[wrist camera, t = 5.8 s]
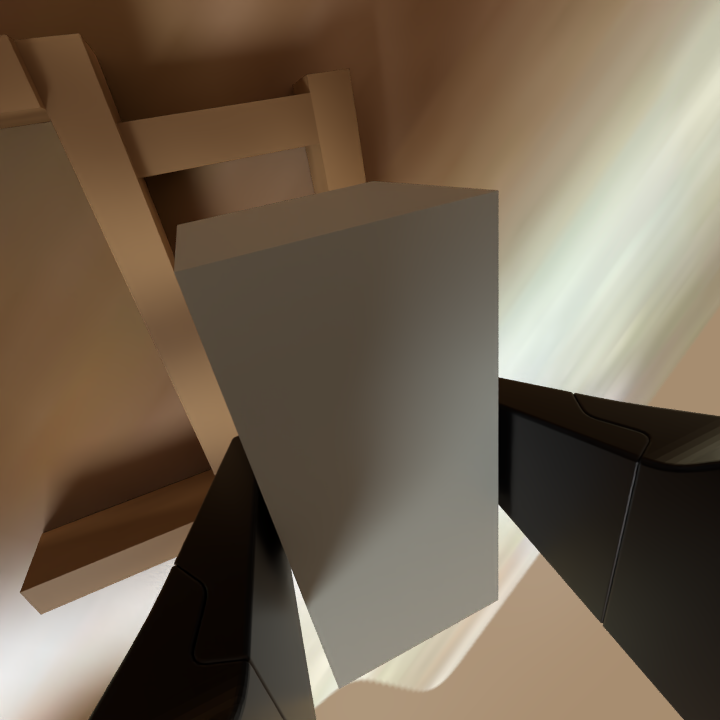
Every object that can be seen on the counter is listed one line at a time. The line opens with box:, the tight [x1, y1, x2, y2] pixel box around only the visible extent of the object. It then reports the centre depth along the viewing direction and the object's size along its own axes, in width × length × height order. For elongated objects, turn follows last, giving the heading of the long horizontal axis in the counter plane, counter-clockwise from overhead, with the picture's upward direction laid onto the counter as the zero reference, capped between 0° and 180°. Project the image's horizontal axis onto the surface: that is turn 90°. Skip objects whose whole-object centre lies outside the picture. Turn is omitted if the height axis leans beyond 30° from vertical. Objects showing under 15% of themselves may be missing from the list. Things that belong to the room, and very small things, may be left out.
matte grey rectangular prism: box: [174, 181, 498, 688], centre depth 9 cm, size 4×9×4 cm, turn 9°
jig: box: [0, 33, 366, 614], centre depth 15 cm, size 18×17×3 cm
